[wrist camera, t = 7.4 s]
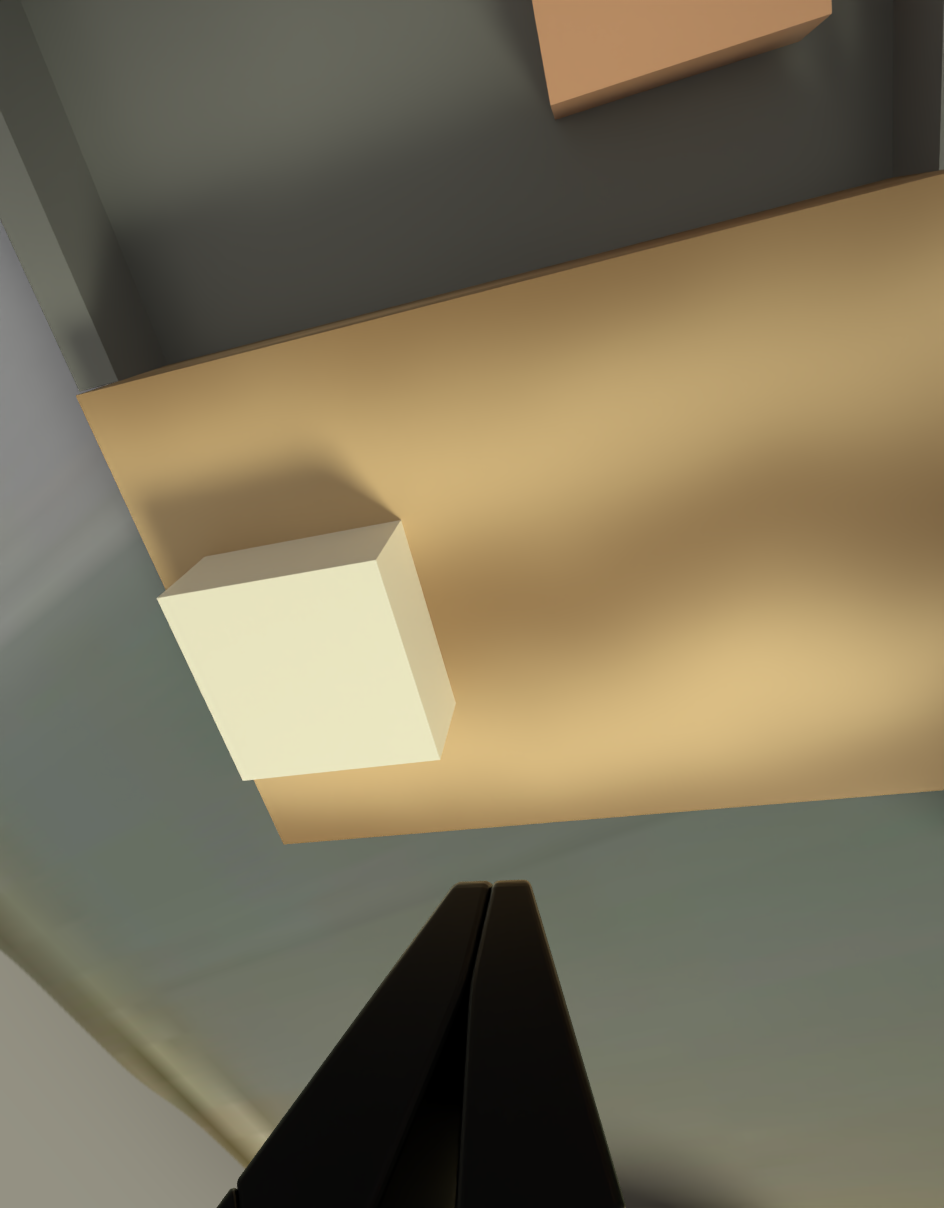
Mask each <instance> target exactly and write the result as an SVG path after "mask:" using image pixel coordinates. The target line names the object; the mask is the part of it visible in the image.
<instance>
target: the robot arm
mask: <svg viewBox="0 0 944 1208" xmlns="http://www.w3.org/2000/svg"><path fill="white" fill-rule="evenodd" d="M217 1208H626V1206H625V1202H624V1199H623V1195H622V1192H621V1188H620V1185H619V1182H618V1178H617V1175H616V1171H615V1168H614V1165H613V1161H612V1158H611V1154H610V1151H609V1148H608V1144H607V1141H606V1137H605V1134H604V1131H603V1127H602V1124H601V1120H600V1117H599V1114H598V1110H597V1107H596V1104H595V1100H594V1097H593V1093H592V1090H591V1087H590V1083H589V1080H588V1076H587V1073H586V1070H585V1066H584V1063H583V1059H582V1056H581V1053H580V1049H579V1046H578V1042H577V1039H576V1036H575V1032H574V1029H573V1025H572V1022H571V1019H570V1015H569V1012H568V1008H567V1005H566V1002H565V998H564V995H563V991H562V988H561V985H560V981H559V978H558V974H557V971H556V968H555V964H554V961H553V958H552V954H551V951H550V947H549V944H548V941H547V937H546V934H545V930H544V927H543V924H542V920H541V917H540V913H539V910H538V907H537V903H536V900H535V896H534V893H533V890H532V886H531V884H530V883H529V882H528V881H527V880H506V881H497V882H495V883H494V884H493V885H492V884H491V883H490V882H487V881H474V882H459V883H457V884H455V885H454V886H453V887H452V888H451V889H450V890H449V892H448V893H447V894H446V896H445V897H444V899H443V900H442V901H441V903H440V904H439V905H438V907H437V908H436V909H435V911H434V912H433V914H432V915H431V916H430V918H429V919H428V920H427V922H426V923H425V925H424V926H423V927H422V929H421V930H420V931H419V933H418V934H417V935H416V937H415V938H414V940H413V941H412V942H411V944H410V945H409V946H408V948H407V949H406V950H405V952H404V953H403V955H402V956H401V957H400V959H399V960H398V961H397V963H396V964H395V965H394V967H393V968H392V970H391V971H390V972H389V974H388V975H387V976H386V978H385V979H384V981H383V982H382V983H381V985H380V986H379V987H378V989H377V990H376V991H375V993H374V994H373V996H372V997H371V998H370V1000H369V1001H368V1002H367V1004H366V1005H365V1006H364V1008H363V1009H362V1011H361V1012H360V1013H359V1015H358V1016H357V1017H356V1019H355V1020H354V1021H353V1023H352V1024H351V1026H350V1027H349V1028H348V1030H347V1031H346V1032H345V1034H344V1035H343V1037H342V1038H341V1039H340V1041H339V1042H338V1043H337V1045H336V1046H335V1047H334V1049H333V1050H332V1052H331V1053H330V1054H329V1056H328V1057H327V1058H326V1060H325V1061H324V1062H323V1064H322V1065H321V1067H320V1068H319V1069H318V1071H317V1072H316V1073H315V1075H314V1076H313V1077H312V1079H311V1080H310V1082H309V1083H308V1084H307V1086H306V1087H305V1088H304V1090H303V1091H302V1093H301V1094H300V1095H299V1097H298V1098H297V1099H296V1101H295V1102H294V1103H293V1105H292V1106H291V1108H290V1109H289V1110H288V1112H287V1113H286V1114H285V1116H284V1117H283V1118H282V1120H281V1121H280V1123H279V1124H278V1125H277V1127H276V1128H275V1129H274V1131H273V1132H272V1133H271V1135H270V1136H269V1138H268V1139H267V1140H266V1142H265V1143H264V1144H263V1146H262V1147H261V1149H260V1150H259V1151H258V1153H257V1154H256V1155H255V1157H254V1158H253V1159H252V1161H251V1162H250V1164H249V1165H248V1166H247V1168H246V1169H245V1170H244V1172H243V1173H242V1175H241V1176H240V1177H239V1179H238V1181H237V1189H236V1188H233V1189H230V1190H229V1192H228V1193H227V1194H226V1196H225V1197H224V1198H223V1200H222V1201H221V1203H220V1204H219V1205H218V1207H217Z"/></svg>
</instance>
